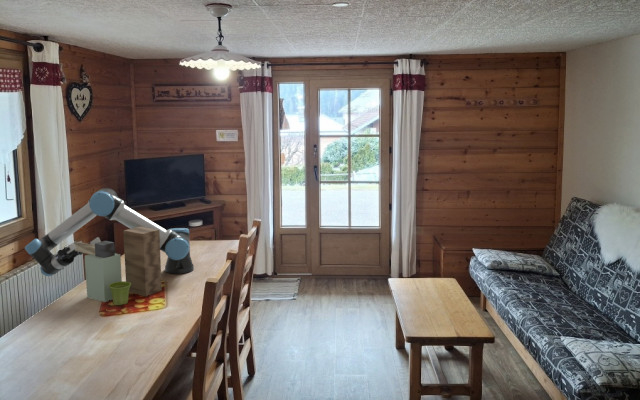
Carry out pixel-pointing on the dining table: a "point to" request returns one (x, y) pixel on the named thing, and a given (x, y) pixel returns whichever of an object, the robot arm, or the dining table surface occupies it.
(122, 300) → the plant pot
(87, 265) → the pale green block
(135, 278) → the stand tall
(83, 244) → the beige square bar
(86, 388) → the dining table surface
